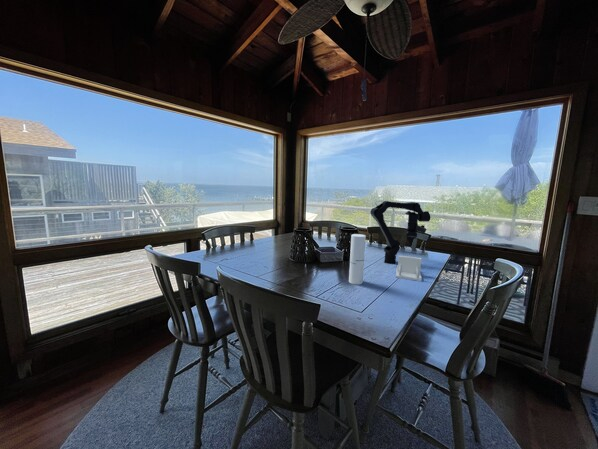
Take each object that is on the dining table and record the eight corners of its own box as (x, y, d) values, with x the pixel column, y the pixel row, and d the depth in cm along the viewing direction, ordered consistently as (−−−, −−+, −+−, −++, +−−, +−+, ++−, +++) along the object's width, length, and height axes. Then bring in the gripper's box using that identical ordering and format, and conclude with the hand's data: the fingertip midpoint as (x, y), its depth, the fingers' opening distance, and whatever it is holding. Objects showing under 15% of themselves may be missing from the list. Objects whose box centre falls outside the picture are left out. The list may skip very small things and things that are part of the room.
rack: (395, 277, 141) (396, 267, 140) (396, 268, 158) (397, 259, 157) (421, 281, 137) (422, 271, 136) (419, 271, 153) (420, 261, 152)
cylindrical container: (362, 285, 129) (366, 237, 126) (348, 283, 131) (351, 236, 127) (362, 280, 136) (365, 234, 132) (348, 278, 138) (351, 233, 134)
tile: (397, 271, 148) (398, 256, 147) (397, 270, 150) (398, 255, 149) (420, 274, 144) (421, 259, 142) (419, 273, 146) (421, 258, 144)
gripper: (427, 224, 154) (424, 249, 157) (425, 220, 171) (423, 243, 174) (407, 223, 159) (405, 247, 161) (408, 219, 176) (406, 241, 178)
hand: (410, 244), depth 169 cm, fingers open, 9 cm apart
